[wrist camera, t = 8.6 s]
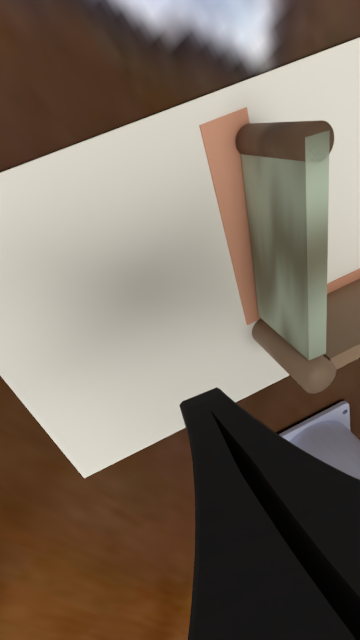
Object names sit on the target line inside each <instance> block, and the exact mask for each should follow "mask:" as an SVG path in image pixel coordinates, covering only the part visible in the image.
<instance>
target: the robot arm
mask: <svg viewBox="0 0 360 640" xmlns="http://www.w3.org/2000/svg"><path fill="white" fill-rule="evenodd" d="M179 406H180V409H181V413H182V416H183V420H184V423H185V426H186V430H187V433H188V437H189V440H190V446H191V453H192V460H193V472H194V485H195V519H196V527H195V562H194V578H193V591H192V605H191V616H190V626H189V634H188V640H360V440H359V439H358V438H357V437H356V436H355V435H354V434H353V433H352V432H351V431H350V409H349V403H347V402H346V401H342V402H340V403H338V404H336V405H334V406H332V407H330V408H328V409H326V410H324V411H322V412H320V413H318V414H317V415H315V416H313V417H311V418H309V419H307V420H305V421H303V422H301V423H299V424H297V425H296V426H294V427H292V428H290V429H288V430H286V431H284V432H282V433H280V434H277V433H275V432H274V431H273V430H271V429H270V428H268V427H267V426H265V425H264V424H263V423H261V422H260V421H259V420H257V419H256V418H254V417H253V416H252V415H250V414H249V413H248V412H247V411H245V410H244V409H243V408H242V407H240V406H239V405H238V404H237V403H235V402H234V401H233V400H232V399H231V398H229V397H228V396H227V395H226V394H225V393H224V392H223V391H222V390H221V389H219V388H217V387H216V388H214V389H211V390H209V391H207V392H204V393H202V394H199V395H197V396H194V397H192V398H189V399H187V400H184V401H182V402H181V404H180V405H179Z"/></svg>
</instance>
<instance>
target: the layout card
mask: <svg viewBox="0 0 360 640" xmlns="http://www.w3.org/2000/svg"><path fill="white" fill-rule="evenodd" d="M319 120H323V121H326V122H328V123H329V124H330V125H331V127H332V129H333V132H334V144H333V147H332V150H331V152H330V154H329V199H328V259H327V320H326V354H323V355H321V356H318V357H316V358H314V359H311V360H308V359H307V358H306V357H304V356H303V355H302V354H301V353H300V352H299V351H298V350H296V349H295V348H294V347H293V346H292V345H291V344H290V343H288V342H287V341H286V340H285V339H284V338H283V337H282V336H280V335H279V334H278V333H277V332H276V331H275V330H274V329H272V328H271V327H270V326H269V325H268V324H267V323H266V322H264V321H263V320H262V319H261V318H260V317H259V315H258V306H257V297H256V288H255V279H254V270H253V261H252V251H251V242H250V233H249V224H248V215H247V206H246V197H245V187H244V178H243V169H242V160H241V154H240V153H239V152H238V150H237V147H236V136H237V133H238V131H239V130H240V129H241V127H243V126H244V125H246V124H249V123H272V122H296V121H319ZM358 358H360V37H359V38H356V39H353V40H351V41H348V42H345V43H343V44H340V45H337V46H335V47H332V48H329V49H327V50H324V51H321V52H319V53H316V54H313V55H311V56H308V57H305V58H303V59H300V60H297V61H295V62H292V63H290V64H287V65H284V66H282V67H279V68H276V69H274V70H271V71H268V72H266V73H263V74H260V75H258V76H255V77H252V78H250V79H247V80H244V81H242V82H239V83H236V84H234V85H231V86H228V87H226V88H223V89H220V90H218V91H215V92H213V93H210V94H207V95H205V96H202V97H199V98H197V99H194V100H191V101H189V102H186V103H183V104H181V105H178V106H175V107H173V108H170V109H167V110H165V111H162V112H159V113H157V114H154V115H151V116H149V117H146V118H143V119H141V120H138V121H136V122H133V123H130V124H128V125H125V126H122V127H120V128H117V129H114V130H112V131H109V132H106V133H104V134H101V135H98V136H96V137H93V138H90V139H88V140H85V141H82V142H80V143H77V144H74V145H72V146H69V147H66V148H64V149H61V150H58V151H56V152H53V153H51V154H48V155H45V156H43V157H40V158H37V159H35V160H32V161H29V162H27V163H24V164H21V165H19V166H16V167H13V168H11V169H8V170H5V171H3V172H0V376H1V377H2V378H3V379H4V381H5V382H6V383H7V384H8V385H9V387H10V388H11V389H12V390H13V392H14V393H15V394H16V395H17V397H18V398H19V399H20V400H21V401H22V403H23V404H24V405H25V406H26V408H27V409H28V410H29V411H30V412H31V414H32V415H33V416H34V417H35V419H36V420H37V421H38V422H39V423H40V425H41V426H42V427H43V428H44V430H45V431H46V432H47V433H48V435H49V436H50V437H51V438H52V439H53V441H54V442H55V443H56V444H57V446H58V447H59V448H60V449H61V450H62V452H63V453H64V454H65V455H66V457H67V458H68V459H69V460H70V461H71V463H72V464H73V465H74V466H75V468H76V469H77V470H78V471H79V473H80V474H81V475H82V476H83V477H84V478H86V477H88V476H90V475H92V474H94V473H96V472H98V471H100V470H102V469H104V468H106V467H108V466H110V465H112V464H114V463H116V462H118V461H120V460H122V459H124V458H126V457H128V456H130V455H132V454H134V453H136V452H138V451H140V450H142V449H144V448H146V447H148V446H150V445H152V444H154V443H156V442H158V441H160V440H162V439H164V438H166V437H168V436H170V435H172V434H174V433H176V432H177V431H179V430H181V429H183V428H185V427H186V426H185V423H184V420H183V416H182V413H181V409H180V406H179V405H180V404H181V402H182V401H184V400H187V399H189V398H192V397H194V396H197V395H199V394H202V393H204V392H207V391H209V390H211V389H214V388H216V387H217V388H219V389H221V390H222V391H223V392H224V393H225V394H226V395H227V396H228V397H229V398H231V399H232V400H233V401H234V402H237V401H239V400H241V399H243V398H245V397H247V396H249V395H251V394H253V393H255V392H257V391H259V390H261V389H263V388H265V387H267V386H269V385H271V384H273V383H275V382H277V381H279V380H281V379H283V378H285V377H287V376H289V375H290V376H291V377H292V378H293V379H294V380H295V381H296V382H297V383H298V384H299V385H300V386H301V387H302V388H303V389H304V390H305V391H306V392H308V393H318V392H320V391H322V390H324V389H325V388H327V387H328V386H329V385H330V384H331V382H332V381H333V380H334V378H335V375H336V370H337V369H339V368H341V367H343V366H345V365H346V364H348V363H350V362H352V361H354V360H356V359H358Z"/></svg>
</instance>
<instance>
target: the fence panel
mask: <svg viewBox="0 0 360 640" xmlns="http://www.w3.org/2000/svg"><path fill="white" fill-rule="evenodd" d="M333 144H334V132H333V129H332V127H331V125H330V124H329V123H328V122H326V121H323V120H319V121H296V122H272V123H249V124H246V125H244V126H243V127H241V129H240V130H239V131H238V133H237V136H236V147H237V150H238V152H239V153H240V154H241V160H242V169H243V178H244V187H245V197H246V206H247V215H248V224H249V233H250V242H251V251H252V261H253V270H254V279H255V288H256V297H257V306H258V315H259V317H260V318H261V319H262V320H263V321H264V322H266V323H267V324H268V325H269V326H270V327H271V328H272V329H274V330H275V331H276V332H277V333H278V334H279V335H280V336H282V337H283V338H284V339H285V340H286V341H287V342H288V343H290V344H291V345H292V346H293V347H294V348H295V349H296V350H298V351H299V352H300V353H301V354H302V355H303V356H304V357H306V358H307V359H308V360H311V359H314V358H316V357H318V356H321V355H323V354H326V320H327V259H328V199H329V154H330V152H331V150H332V147H333Z"/></svg>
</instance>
